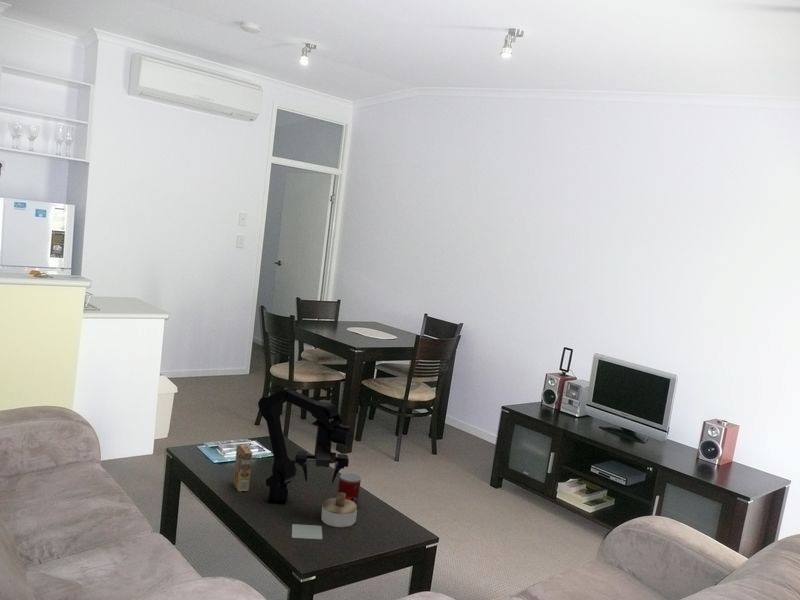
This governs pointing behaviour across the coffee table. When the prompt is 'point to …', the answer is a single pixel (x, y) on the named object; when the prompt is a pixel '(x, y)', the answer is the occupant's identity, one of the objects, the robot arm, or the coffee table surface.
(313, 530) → the mat
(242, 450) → the candy box
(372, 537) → the coffee table surface
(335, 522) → the bowl
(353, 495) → the canned food
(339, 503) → the lid
